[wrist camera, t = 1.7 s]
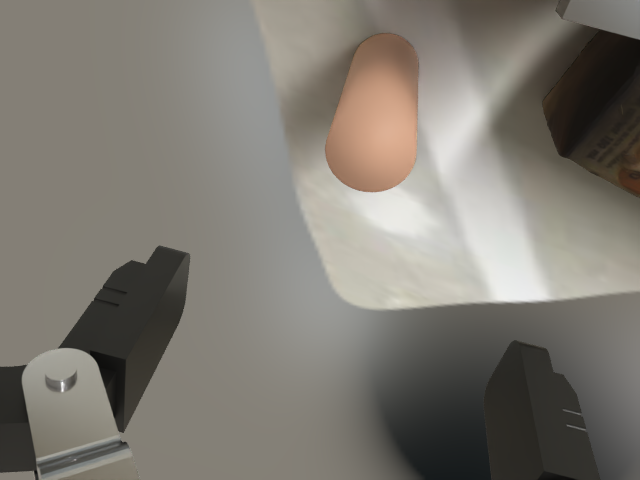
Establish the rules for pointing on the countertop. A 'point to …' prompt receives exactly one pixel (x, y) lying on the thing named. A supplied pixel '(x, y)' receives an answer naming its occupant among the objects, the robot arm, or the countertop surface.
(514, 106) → the countertop surface
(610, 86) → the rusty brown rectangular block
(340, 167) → the peg
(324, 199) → the countertop surface
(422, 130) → the countertop surface
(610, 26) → the socket station
